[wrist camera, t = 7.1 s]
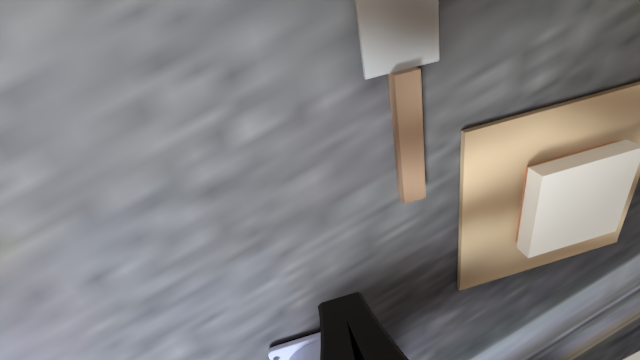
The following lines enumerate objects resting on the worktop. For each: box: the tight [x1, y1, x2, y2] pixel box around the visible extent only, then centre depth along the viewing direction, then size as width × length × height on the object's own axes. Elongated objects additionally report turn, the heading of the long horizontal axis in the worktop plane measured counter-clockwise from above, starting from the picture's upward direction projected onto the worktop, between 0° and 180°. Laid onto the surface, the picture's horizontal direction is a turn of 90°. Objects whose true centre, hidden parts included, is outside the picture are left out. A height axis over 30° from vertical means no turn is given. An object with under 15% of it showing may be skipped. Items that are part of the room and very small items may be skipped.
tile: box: [516, 140, 640, 258], centre depth 23 cm, size 7×2×7 cm
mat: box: [457, 81, 640, 291], centre depth 24 cm, size 14×14×1 cm
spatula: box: [354, 0, 439, 204], centre depth 18 cm, size 13×4×1 cm, turn 12°
